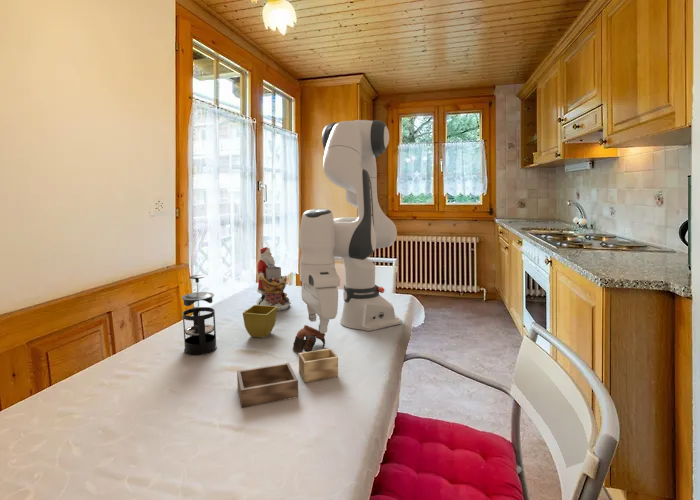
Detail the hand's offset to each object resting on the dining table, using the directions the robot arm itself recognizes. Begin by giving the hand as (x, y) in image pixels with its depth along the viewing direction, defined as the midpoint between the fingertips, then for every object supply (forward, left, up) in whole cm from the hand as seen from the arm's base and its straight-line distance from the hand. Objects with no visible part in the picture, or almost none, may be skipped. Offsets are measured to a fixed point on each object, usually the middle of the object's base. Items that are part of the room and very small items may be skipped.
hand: (317, 326), depth 98 cm
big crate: (+14, +4, -14) cm, 20 cm away
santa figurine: (0, -66, -14) cm, 68 cm away
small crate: (0, 0, -14) cm, 14 cm away
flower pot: (+10, -34, -14) cm, 38 cm away
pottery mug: (-2, -17, -14) cm, 22 cm away
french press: (+29, -29, -14) cm, 43 cm away
